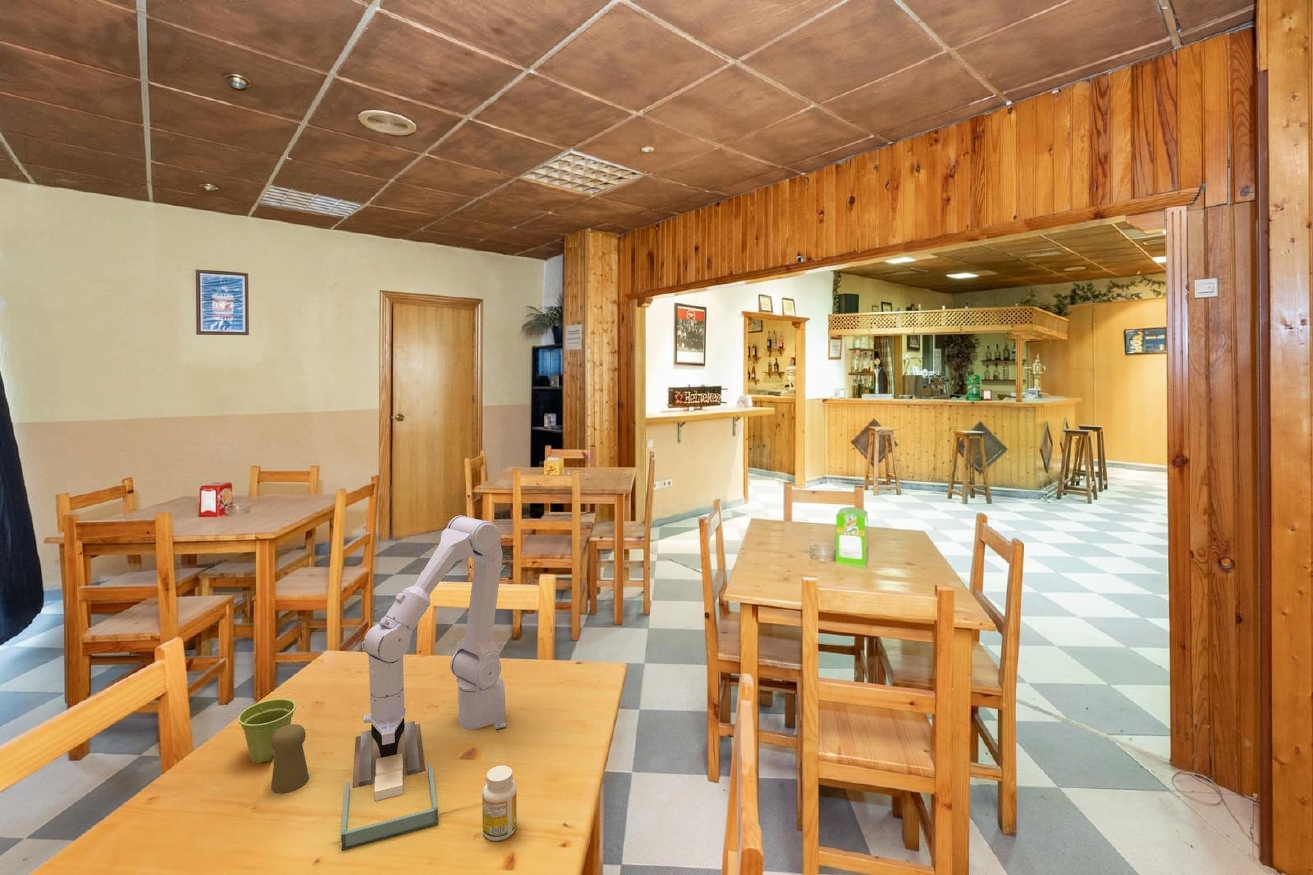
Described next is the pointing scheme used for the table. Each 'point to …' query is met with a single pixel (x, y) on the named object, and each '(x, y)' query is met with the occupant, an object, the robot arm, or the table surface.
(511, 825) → the supplement bottle
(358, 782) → the slot board
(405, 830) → the tray
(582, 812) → the table surface
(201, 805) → the table surface
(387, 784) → the chip
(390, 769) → the chip
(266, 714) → the plant pot
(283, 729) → the cork
